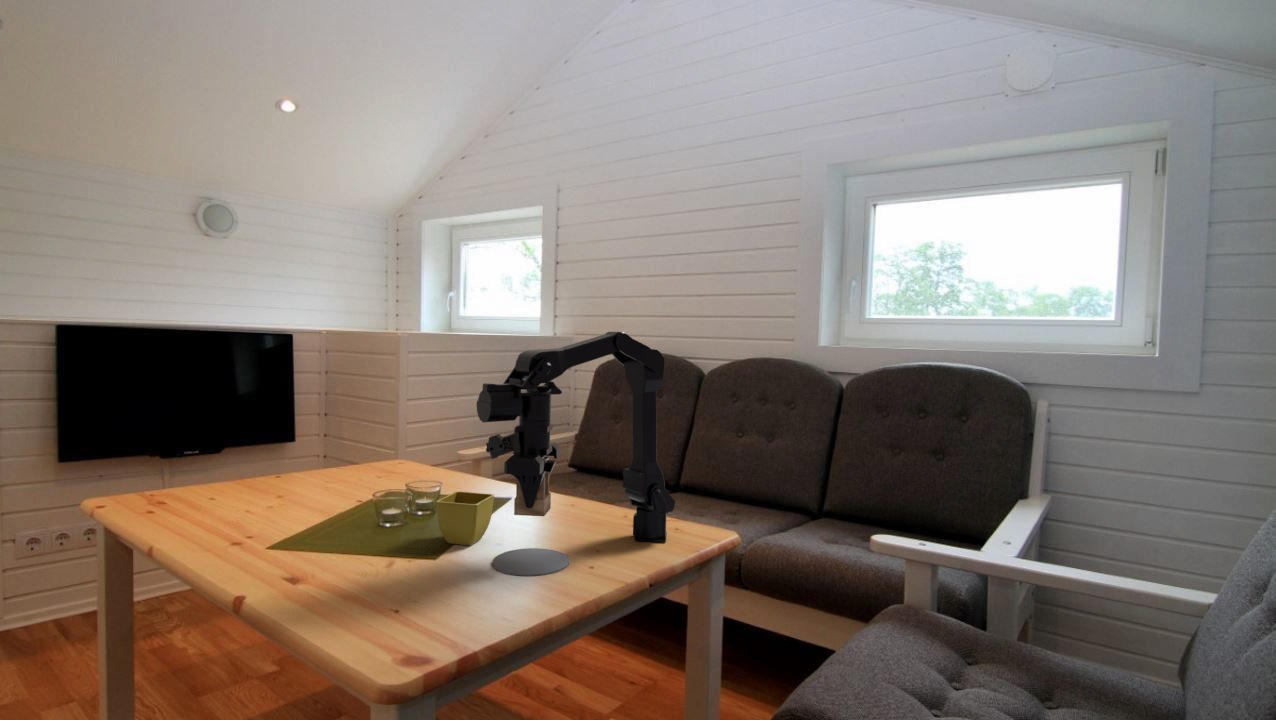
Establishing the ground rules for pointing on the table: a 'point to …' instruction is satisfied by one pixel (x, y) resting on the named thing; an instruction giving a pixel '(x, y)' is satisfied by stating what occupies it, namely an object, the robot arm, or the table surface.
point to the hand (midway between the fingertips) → (533, 503)
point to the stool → (541, 502)
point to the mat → (531, 562)
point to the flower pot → (464, 516)
